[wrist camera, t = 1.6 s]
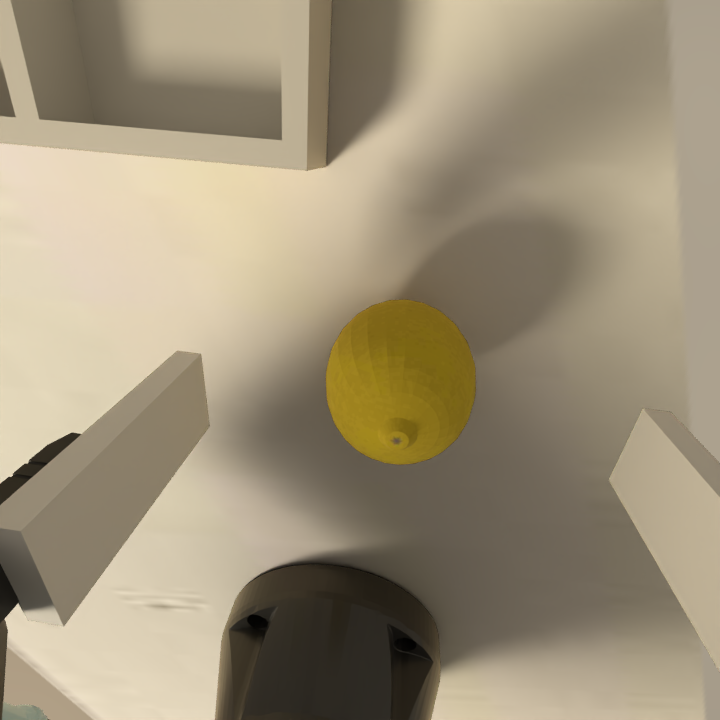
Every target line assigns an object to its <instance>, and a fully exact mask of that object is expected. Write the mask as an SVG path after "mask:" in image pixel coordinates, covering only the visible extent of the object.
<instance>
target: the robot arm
mask: <svg viewBox="0 0 720 720" xmlns="http://www.w3.org/2000/svg"><path fill="white" fill-rule="evenodd" d="M209 426H210V425H209V416H208V408H207V399H206V391H205V382H204V374H203V366H202V357H201V354H198V353H190V352H182V351H177V352H175V353H174V354H173V355H172V356H171V357H170V358H169V359H167V360H166V361H165V362H164V363H163V364H162V365H160V366H159V367H158V368H157V369H156V370H155V371H154V372H152V373H151V374H150V375H149V376H148V377H147V378H146V379H144V380H143V381H142V382H141V383H140V384H139V385H138V386H136V387H135V388H134V389H133V390H132V391H131V392H129V393H128V394H127V395H126V396H125V397H124V398H123V399H121V400H120V401H119V402H118V403H117V404H116V405H115V406H113V407H112V408H111V409H110V410H109V411H108V412H107V413H105V414H104V415H103V416H102V417H101V418H100V419H98V420H97V421H96V422H95V423H94V424H93V425H92V426H90V427H89V428H88V429H87V430H86V431H85V432H84V433H82V434H77V433H70V434H68V435H66V436H64V437H62V438H60V439H58V440H57V441H55V442H53V443H51V444H49V445H47V446H46V447H45V448H43V449H42V450H41V451H40V452H39V453H37V454H36V455H35V456H34V457H32V458H31V459H30V460H29V463H28V464H24V465H23V466H21V467H20V468H19V469H18V470H17V471H15V472H14V473H13V476H12V477H8V478H7V479H6V480H4V481H3V482H2V483H1V484H0V720H49V719H47V716H46V715H44V713H43V710H41V709H40V708H38V707H35V706H33V705H18V706H13V705H11V704H8V703H6V702H3V696H4V680H5V679H4V678H5V665H6V664H5V663H6V649H7V633H8V630H7V626H6V622H5V620H4V619H5V617H6V616H7V615H8V614H9V613H10V612H11V611H12V609H13V608H14V607H15V606H16V605H17V604H18V603H19V605H20V607H21V609H22V611H23V613H24V615H25V617H26V618H27V620H28V621H34V622H39V623H45V624H51V625H57V626H62V627H64V626H65V624H66V623H67V621H68V620H69V619H70V617H71V616H72V615H73V613H74V612H75V610H76V609H77V608H78V606H79V605H80V604H81V602H82V601H83V599H84V598H85V597H86V595H87V594H88V593H89V591H90V590H91V588H92V587H93V586H94V584H95V583H96V582H97V580H98V579H99V577H100V576H101V575H102V573H103V572H104V571H105V569H106V568H107V566H108V565H109V564H110V562H111V561H112V560H113V558H114V557H115V555H116V554H117V553H118V551H119V550H120V549H121V547H122V546H123V544H124V543H125V542H126V540H127V539H128V538H129V536H130V535H131V533H132V532H133V531H134V529H135V528H136V527H137V525H138V524H139V522H140V521H141V520H142V518H143V517H144V516H145V514H146V513H147V511H148V510H149V509H150V507H151V506H152V505H153V503H154V502H155V500H156V499H157V498H158V496H159V495H160V494H161V492H162V491H163V489H164V488H165V487H166V485H167V484H168V483H169V481H170V480H171V478H172V477H173V476H174V474H175V473H176V472H177V470H178V469H179V467H180V466H181V465H182V463H183V462H184V461H185V459H186V458H187V456H188V455H189V454H190V452H191V451H192V450H193V448H194V447H195V445H196V444H197V443H198V441H199V440H200V439H201V437H202V436H203V434H204V433H205V432H206V430H207V429H208V428H209ZM609 482H610V483H611V485H612V487H613V489H614V490H615V492H616V494H617V495H618V497H619V499H620V501H621V502H622V504H623V506H624V508H625V509H626V511H627V513H628V515H629V516H630V518H631V520H632V521H633V523H634V525H635V527H636V528H637V530H638V532H639V534H640V535H641V537H642V539H643V540H644V542H645V544H646V546H647V547H648V549H649V551H650V553H651V554H652V556H653V558H654V560H655V561H656V563H657V565H658V566H659V568H660V570H661V572H662V573H663V575H664V577H665V579H666V580H667V582H668V584H669V585H670V587H671V589H672V591H673V592H674V594H675V596H676V598H677V599H678V601H679V603H680V605H681V606H682V608H683V610H684V611H685V613H686V615H687V617H688V618H689V620H690V622H691V624H692V625H693V627H694V629H695V630H696V632H697V634H698V636H699V637H700V639H701V641H702V643H703V644H704V646H705V648H706V650H707V651H708V653H709V655H710V656H711V658H712V660H713V662H714V663H715V665H716V667H717V668H718V670H719V672H720V463H719V462H718V461H717V460H716V459H715V458H714V457H713V456H712V455H711V454H710V452H709V451H708V450H707V449H706V448H705V447H704V446H703V445H702V444H701V443H700V442H699V441H698V440H697V439H696V438H695V437H694V436H693V435H692V434H691V433H690V432H689V431H688V429H687V428H686V427H685V426H684V425H683V424H682V423H681V422H680V421H679V420H678V419H677V418H676V417H675V416H674V415H673V414H672V413H671V412H668V411H660V410H652V409H644V408H643V409H642V411H641V413H640V415H639V417H638V419H637V422H636V424H635V426H634V428H633V430H632V432H631V434H630V436H629V438H628V440H627V442H626V445H625V447H624V449H623V451H622V453H621V455H620V457H619V459H618V461H617V463H616V465H615V468H614V470H613V472H612V474H611V476H610V478H609ZM440 672H441V666H440V649H439V635H438V630H437V627H436V625H435V622H434V620H433V619H432V617H431V615H430V614H429V612H428V611H427V610H426V609H425V607H424V606H423V605H422V604H421V603H420V602H419V601H418V600H416V599H415V598H414V597H413V596H412V595H410V594H409V593H408V592H406V591H405V590H403V589H402V588H400V587H398V586H397V585H395V584H393V583H391V582H389V581H387V580H385V579H382V578H380V577H377V576H375V575H372V574H369V573H366V572H363V571H359V570H355V569H351V568H346V567H340V566H332V565H297V566H290V567H285V568H281V569H277V570H274V571H271V572H268V573H266V574H263V575H261V576H259V577H258V578H256V579H254V580H253V581H251V582H250V583H249V584H247V585H246V586H245V587H244V588H243V589H242V591H241V592H240V593H239V595H238V596H237V598H236V600H235V602H234V605H233V608H232V610H231V613H230V615H229V618H228V621H227V623H226V626H225V629H224V632H223V636H222V641H221V652H220V664H219V676H218V688H217V700H216V712H215V720H431V717H432V713H433V708H434V704H435V700H436V695H437V691H438V687H439V682H440Z"/></svg>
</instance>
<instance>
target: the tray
mask: <svg viewBox="0 0 720 720" xmlns="http://www.w3.org/2000/svg"><path fill="white" fill-rule="evenodd" d="M331 14H332V0H0V143H5V144H16V145H27V146H38V147H49V148H60V149H71V150H83V151H94V152H105V153H116V154H127V155H138V156H149V157H160V158H171V159H182V160H194V161H205V162H216V163H227V164H238V165H249V166H260V167H271V168H282V169H293V170H305V171H308V170H313V169H318V168H323V167H326V155H327V127H328V98H329V70H330V42H331Z"/></svg>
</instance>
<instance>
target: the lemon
mask: <svg viewBox="0 0 720 720" xmlns="http://www.w3.org/2000/svg"><path fill="white" fill-rule="evenodd" d="M475 392H476V379H475V364H474V361H473V358H472V355H471V352H470V349H469V346H468V343H467V341H466V339H465V338H464V336H463V335H462V334H461V332H460V331H459V329H458V328H457V326H456V325H455V324H454V323H453V322H452V321H451V320H450V319H449V318H448V317H446V316H445V315H444V314H443V313H442V312H441V311H439V310H437V309H435V308H433V307H431V306H429V305H426V304H424V303H421V302H416V301H411V300H389V301H385V302H382V303H379V304H375V305H373V306H371V307H369V308H367V309H366V310H364V311H362V312H361V313H359V314H357V315H356V316H355V317H354V318H353V319H352V320H351V321H350V322H349V323H348V324H347V325H346V326H345V327H344V328H343V330H342V331H341V333H340V335H339V336H338V338H337V340H336V342H335V344H334V345H333V347H332V350H331V353H330V357H329V362H328V366H327V370H326V393H327V402H328V407H329V410H330V412H331V415H332V418H333V421H334V423H335V425H336V427H337V428H338V430H339V431H340V433H341V434H342V436H343V437H344V439H345V440H346V441H347V442H348V443H349V444H351V445H352V446H353V447H354V448H355V449H356V450H357V451H359V452H360V453H362V454H364V455H366V456H368V457H369V458H371V459H375V460H378V461H381V462H384V463H389V464H398V465H402V464H414V463H418V462H421V461H425V460H428V459H431V458H432V457H434V456H436V455H438V454H440V453H441V452H443V451H444V450H445V449H446V448H448V447H449V446H450V445H451V444H452V443H453V442H454V441H455V440H456V439H457V438H458V436H459V435H460V433H461V432H462V430H463V428H464V427H465V425H466V424H467V422H468V419H469V416H470V413H471V410H472V406H473V403H474V399H475Z"/></svg>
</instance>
